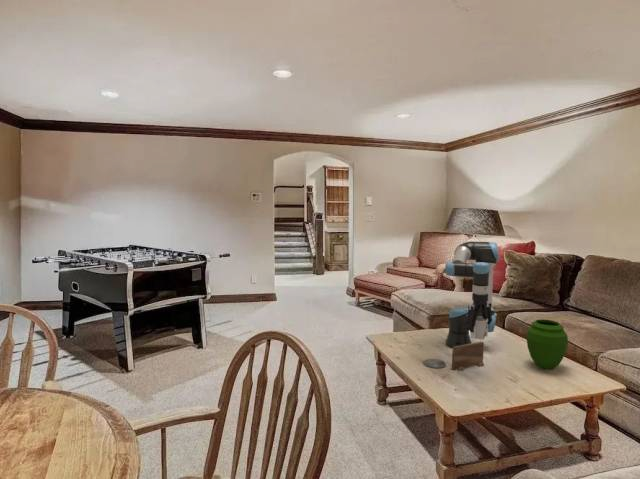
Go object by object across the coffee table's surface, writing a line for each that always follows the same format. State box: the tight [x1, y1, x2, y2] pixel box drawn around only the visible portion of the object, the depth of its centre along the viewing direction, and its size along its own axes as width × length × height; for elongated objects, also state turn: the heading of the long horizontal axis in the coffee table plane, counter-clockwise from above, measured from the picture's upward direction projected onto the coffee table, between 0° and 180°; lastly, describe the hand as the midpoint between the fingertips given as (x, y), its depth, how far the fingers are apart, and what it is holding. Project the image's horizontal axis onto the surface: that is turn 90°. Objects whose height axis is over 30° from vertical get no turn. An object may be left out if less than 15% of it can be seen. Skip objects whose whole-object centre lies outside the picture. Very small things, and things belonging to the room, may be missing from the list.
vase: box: [525, 319, 569, 371], centre depth 214 cm, size 20×20×24 cm
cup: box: [472, 316, 488, 340], centre depth 206 cm, size 8×8×10 cm
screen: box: [450, 341, 485, 372], centre depth 216 cm, size 6×20×12 cm, turn 114°
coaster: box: [422, 358, 447, 370], centre depth 220 cm, size 12×12×1 cm
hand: (478, 336), depth 206 cm, fingers closed on cup, 8 cm apart
